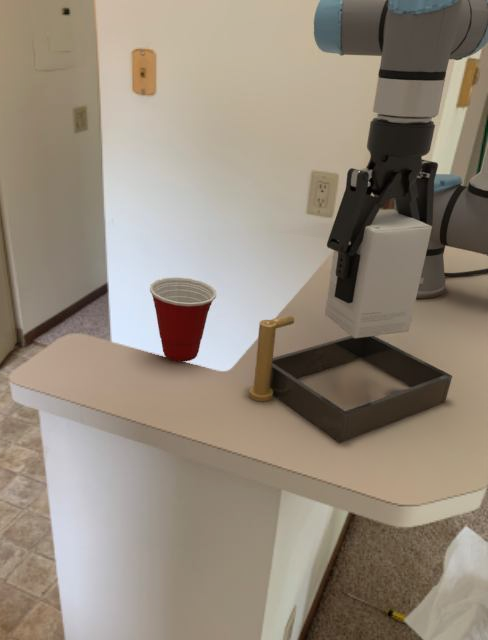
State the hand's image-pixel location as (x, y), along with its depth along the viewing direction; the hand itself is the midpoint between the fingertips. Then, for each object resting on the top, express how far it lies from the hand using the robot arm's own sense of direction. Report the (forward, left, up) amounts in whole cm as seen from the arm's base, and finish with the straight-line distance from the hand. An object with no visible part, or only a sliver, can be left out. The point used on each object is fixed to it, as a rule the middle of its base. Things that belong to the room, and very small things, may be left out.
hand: (371, 292), depth 85 cm
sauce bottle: (-60, -50, -17) cm, 80 cm away
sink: (+2, 0, -16) cm, 17 cm away
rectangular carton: (0, 0, -5) cm, 5 cm away
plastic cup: (+16, -24, -17) cm, 33 cm away
